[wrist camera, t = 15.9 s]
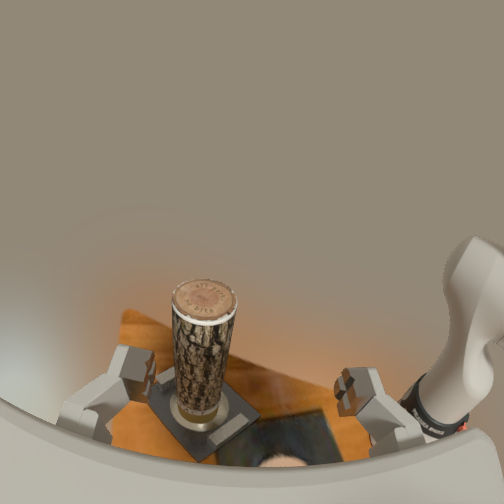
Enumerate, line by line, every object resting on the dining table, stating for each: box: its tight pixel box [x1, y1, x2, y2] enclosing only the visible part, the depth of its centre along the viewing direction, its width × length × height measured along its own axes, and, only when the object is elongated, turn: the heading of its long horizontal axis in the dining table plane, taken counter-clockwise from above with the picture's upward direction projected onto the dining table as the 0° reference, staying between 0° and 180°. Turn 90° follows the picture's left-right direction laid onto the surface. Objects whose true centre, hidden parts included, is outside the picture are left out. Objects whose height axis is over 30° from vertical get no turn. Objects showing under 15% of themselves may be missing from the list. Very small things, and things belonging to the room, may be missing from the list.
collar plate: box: [148, 366, 261, 463], centre depth 42 cm, size 16×14×4 cm
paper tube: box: [172, 279, 237, 424], centre depth 35 cm, size 7×7×25 cm
